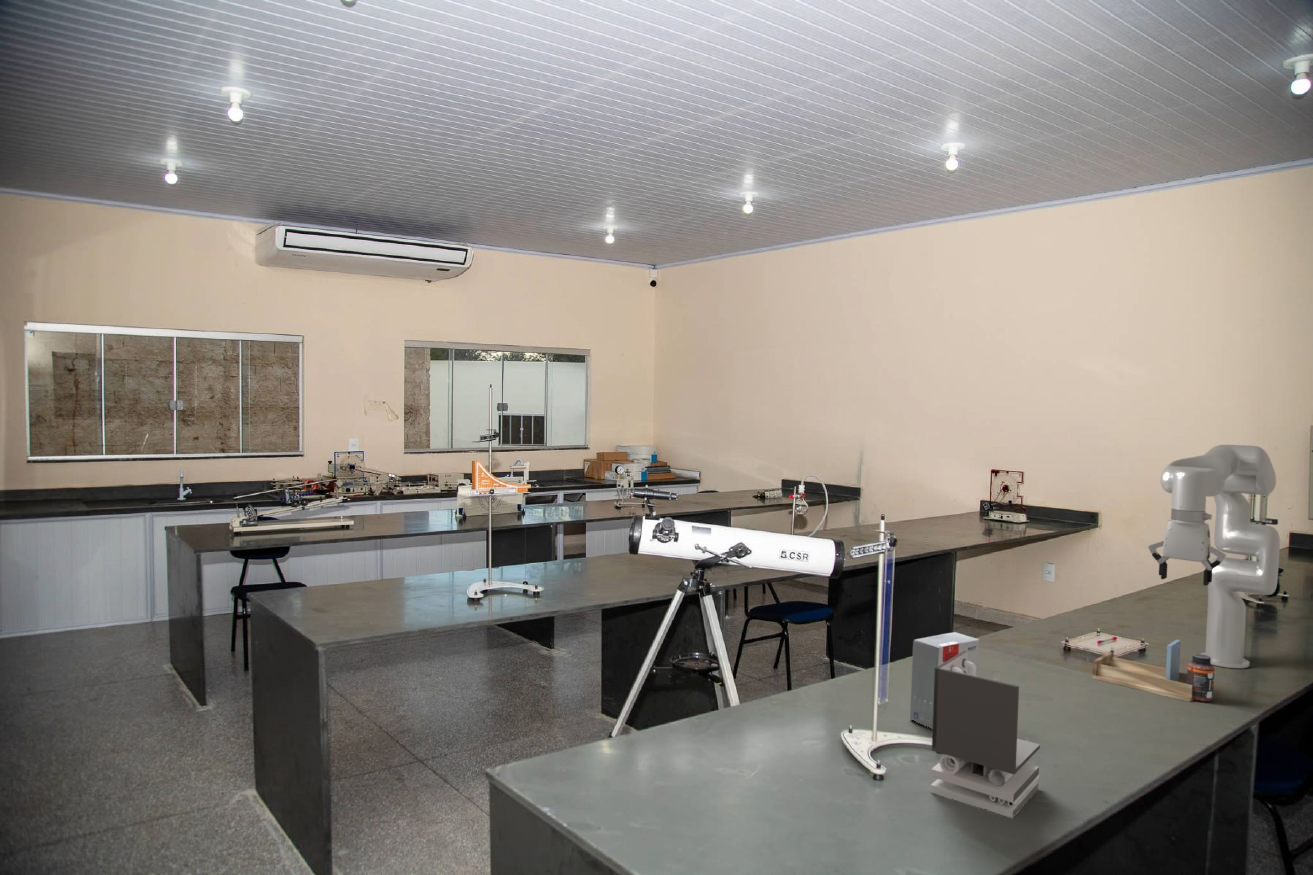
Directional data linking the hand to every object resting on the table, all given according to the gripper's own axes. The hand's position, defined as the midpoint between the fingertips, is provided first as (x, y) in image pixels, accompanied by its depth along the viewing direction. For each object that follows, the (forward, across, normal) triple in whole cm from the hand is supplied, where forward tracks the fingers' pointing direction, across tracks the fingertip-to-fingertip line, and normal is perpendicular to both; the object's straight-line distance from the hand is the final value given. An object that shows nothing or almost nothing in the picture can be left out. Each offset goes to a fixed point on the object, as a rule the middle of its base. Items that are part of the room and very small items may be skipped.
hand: (1184, 581), depth 220 cm
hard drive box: (+32, +37, +60) cm, 77 cm away
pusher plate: (+30, +3, -5) cm, 30 cm away
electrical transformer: (+32, +14, +89) cm, 96 cm away
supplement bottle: (+31, -4, -3) cm, 31 cm away
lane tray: (+31, +9, -6) cm, 33 cm away
